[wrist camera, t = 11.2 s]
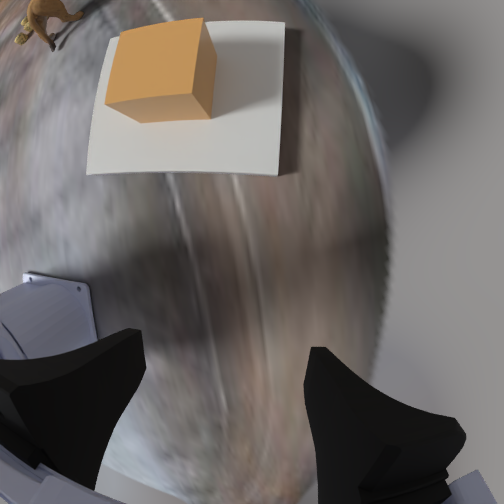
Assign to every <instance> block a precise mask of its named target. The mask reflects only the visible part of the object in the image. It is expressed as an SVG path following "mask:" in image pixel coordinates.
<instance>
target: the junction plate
mask: <svg viewBox="0 0 504 504" xmlns="http://www.w3.org/2000/svg"><path fill="white" fill-rule="evenodd" d="M205 24H206V26H207V29H208V32H209V34H210V37H211V40H212V43H213V45H214V48H215V51H216V54H217V63H216V72H215V82H214V91H213V102H212V113H211V119H209V120H180V121H164V122H152V123H142V124H141V123H139V122H137V121H135V120H133V119H132V118H130V117H128V116H126V115H124V114H122V113H120V112H118V111H116V110H114V109H112V108H110V107H108V106H106V105H104V103H105V97H106V92H107V86H108V81H109V77H110V72H111V68H112V64H113V59H114V55H115V52H116V48H117V44H118V41H119V37H120V36H119V37H115V38H111V39H110V42H109V45H108V49H107V52H106V56H105V60H104V63H103V67H102V71H101V76H100V80H99V85H98V89H97V94H96V99H95V105H94V111H93V117H92V124H91V131H90V139H89V148H88V159H87V172H86V175H111V174H135V173H216V174H241V175H258V176H273V177H277V176H278V166H279V150H280V132H281V112H282V91H283V67H284V38H285V23H284V22H269V21H215V22H205Z"/></svg>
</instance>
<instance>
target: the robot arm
mask: <svg viewBox="0 0 504 504" xmlns="http://www.w3.org/2000/svg"><path fill="white" fill-rule="evenodd" d="M23 282H24V283H23V284H21V285H18V286H16V287H14V288H12V289H10V290H8V291H6V292H3V293H1V294H0V497H2V498H3V499H4V500H5V501H6V502H7V503H9V504H125V503H123V502H120V501H117V500H115V499H112V498H110V497H107V496H105V495H102V494H100V493H97V492H95V491H94V490H95V485H96V481H97V476H98V473H99V469H100V466H101V462H102V459H103V456H104V453H105V450H106V448H107V445H108V442H109V440H110V437H111V435H112V432H113V430H114V428H115V426H116V424H117V422H118V420H119V418H120V416H121V415H122V413H123V412H124V410H125V408H126V407H127V405H128V403H129V402H130V400H131V398H132V397H133V395H134V393H135V392H136V390H137V388H138V387H139V385H140V383H141V380H142V378H143V375H144V373H145V370H146V362H145V355H144V348H143V341H142V333H141V330H137V329H131V328H128V329H125V330H122V331H119V332H117V333H115V334H112V335H110V336H108V337H105V338H103V339H101V340H97V335H96V329H95V324H94V318H93V312H92V305H91V298H90V290H89V287H88V285H87V284H85V283H81V282H75V281H69V280H63V279H58V278H52V277H47V276H42V275H37V274H32V273H24V274H23ZM79 287H80V288H81V290H80V289H79ZM303 385H304V398H305V406H306V410H307V415H308V419H309V424H310V428H311V432H312V437H313V441H314V446H315V452H316V463H317V478H318V504H497V502H496V501H495V499H494V497H493V495H492V493H491V491H490V490H489V488H488V486H487V484H486V483H485V481H484V479H483V477H482V476H481V474H480V472H479V471H478V470H475V471H473V472H471V473H469V474H467V475H465V476H463V477H461V478H459V479H457V480H455V481H453V482H452V483H451V484H449V485H447V483H446V481H445V479H447V478H448V476H449V474H448V472H447V470H446V468H447V467H448V466H449V464H450V463H451V462H452V461H453V460H454V458H455V457H456V456H457V454H458V453H459V452H460V450H461V449H462V448H463V446H464V443H465V441H466V433H465V432H464V430H463V429H462V427H461V426H460V424H459V423H458V422H457V420H456V419H455V418H452V417H447V416H442V415H437V414H433V413H429V412H426V411H422V410H419V409H416V408H414V407H411V406H408V405H406V404H404V403H401V402H399V401H397V400H395V399H393V398H391V397H389V396H387V395H385V394H384V393H382V392H380V391H379V390H377V389H375V388H374V387H372V386H371V385H369V384H368V383H367V382H365V381H364V380H363V379H361V378H360V377H359V376H357V375H356V374H355V373H354V372H353V371H351V370H350V369H349V368H348V367H347V366H346V365H345V364H343V363H342V362H341V361H340V360H339V359H338V358H337V357H336V356H335V355H334V354H333V353H332V352H331V351H329V350H328V349H327V348H326V347H311V350H310V355H309V360H308V365H307V370H306V375H305V380H304V384H303Z"/></svg>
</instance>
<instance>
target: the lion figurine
mask: <svg viewBox="0 0 504 504" xmlns="http://www.w3.org/2000/svg"><path fill="white" fill-rule="evenodd" d="M83 14H84V13H83V12H82V11H79V12H77V13H76V14H75V15H70V14H68V13H67V11H66V9H65V6H64V4H63V3H62V2H61V1H60V0H31V2H30V4H29V6H28V9H27V17H28V21H29V23H30V25H31V27H32V28H33V30H34V31H35V32H36V33H37V34H38V36H39V37H40V38H41V39H42V40H43V41H44V42H46V43H48V44H49V45H50V48H51V51H52V52H54V50H55V48H56V45H55V43H54V42H53V40H54V38H55V36H56V35H55V34H54V33H51V34H50V35H49V36H48V35H47V32H46V25H47V17H57V18H59V19H60V20H61V21H62V22H70V21H76V20H79V19H80V18H81V17H82V16H83Z"/></svg>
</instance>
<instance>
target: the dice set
mask: <svg viewBox="0 0 504 504" xmlns="http://www.w3.org/2000/svg"><path fill="white" fill-rule="evenodd" d="M47 19H48V17H47ZM21 25H23V26H25V27H24V30H26V31H29V32H31V31H32V30H33V28H32V27H31V25H30V23H29V21H28V17H27V16H26V17H25V18H24V19H23V20H22V22H21ZM27 38H28V36H27V35H26V34H24V33H22V32H21V33H20V34H18V36H17V37H16V39H15V43H17V44H19V45H23V44H24V43H25V42H26V40H27Z"/></svg>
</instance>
